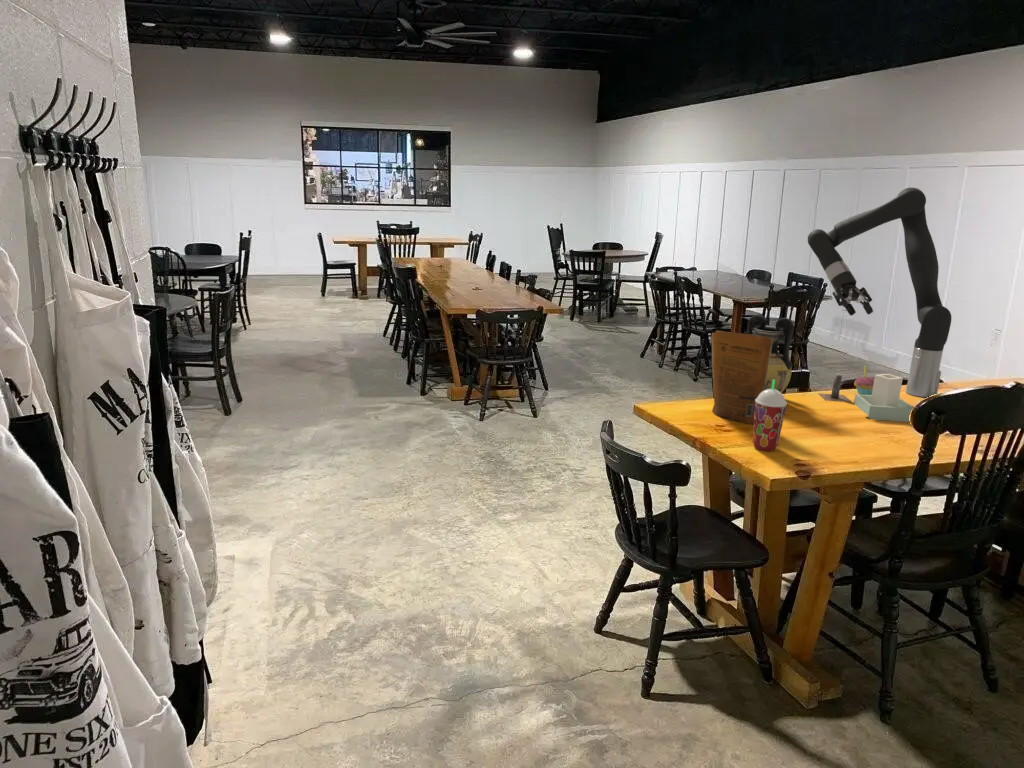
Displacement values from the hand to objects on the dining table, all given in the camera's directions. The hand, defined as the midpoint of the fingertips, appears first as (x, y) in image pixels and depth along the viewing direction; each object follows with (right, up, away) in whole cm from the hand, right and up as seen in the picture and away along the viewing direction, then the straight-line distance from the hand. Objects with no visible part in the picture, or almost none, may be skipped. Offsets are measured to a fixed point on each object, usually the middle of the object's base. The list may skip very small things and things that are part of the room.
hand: (862, 313), depth 255 cm
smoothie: (-51, -43, -49) cm, 83 cm away
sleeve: (0, -34, -14) cm, 36 cm away
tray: (0, -35, -13) cm, 37 cm away
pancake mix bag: (-52, -36, -23) cm, 68 cm away
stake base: (-10, -31, 0) cm, 32 cm away
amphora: (-37, -31, -4) cm, 48 cm away
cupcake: (+5, -29, +8) cm, 31 cm away
